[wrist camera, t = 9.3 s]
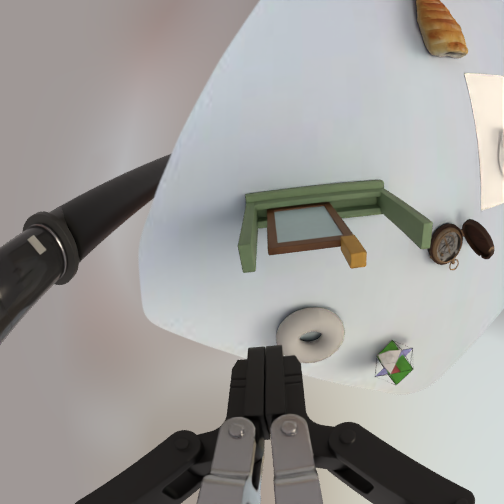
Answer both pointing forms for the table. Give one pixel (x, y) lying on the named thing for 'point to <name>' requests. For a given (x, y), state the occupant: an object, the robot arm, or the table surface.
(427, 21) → the pastry
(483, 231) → the compass
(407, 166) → the table surface
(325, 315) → the donut
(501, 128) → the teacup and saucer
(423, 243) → the window frame
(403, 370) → the geometric puzzle
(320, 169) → the table surface
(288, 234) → the sash
